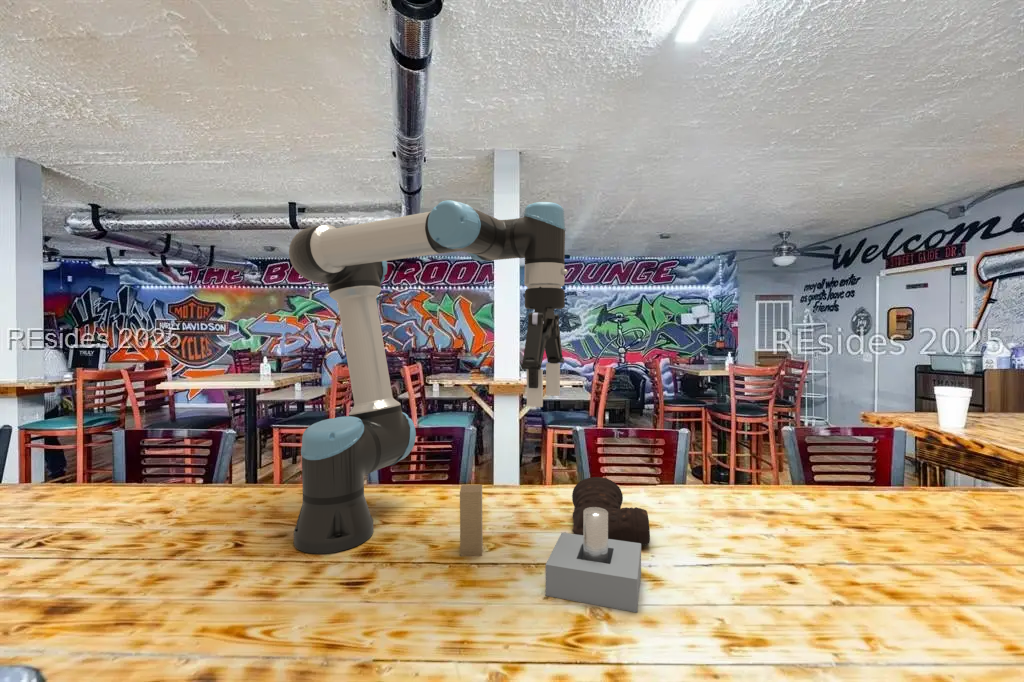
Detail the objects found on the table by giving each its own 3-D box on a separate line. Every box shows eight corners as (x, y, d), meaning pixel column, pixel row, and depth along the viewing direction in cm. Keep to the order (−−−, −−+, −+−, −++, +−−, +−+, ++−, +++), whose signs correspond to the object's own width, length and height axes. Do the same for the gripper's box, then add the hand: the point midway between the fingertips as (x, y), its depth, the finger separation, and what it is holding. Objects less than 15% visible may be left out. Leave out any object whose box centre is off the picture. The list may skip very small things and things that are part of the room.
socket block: (545, 595, 73) (545, 564, 73) (561, 559, 85) (561, 532, 84) (637, 612, 69) (637, 579, 69) (641, 571, 80) (641, 543, 80)
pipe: (650, 514, 86) (640, 475, 101) (569, 515, 89) (570, 476, 103) (652, 561, 88) (641, 515, 103) (572, 560, 90) (573, 516, 105)
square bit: (460, 556, 86) (459, 492, 86) (461, 546, 90) (461, 484, 90) (481, 555, 86) (481, 491, 86) (482, 545, 90) (482, 484, 90)
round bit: (581, 587, 75) (581, 514, 75) (585, 575, 79) (585, 505, 79) (606, 591, 74) (606, 518, 74) (609, 579, 78) (609, 508, 78)
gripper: (547, 281, 74) (547, 413, 75) (576, 292, 98) (576, 392, 98) (503, 282, 76) (503, 410, 77) (542, 292, 100) (542, 390, 101)
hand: (544, 400), depth 88 cm, fingers open, 13 cm apart
